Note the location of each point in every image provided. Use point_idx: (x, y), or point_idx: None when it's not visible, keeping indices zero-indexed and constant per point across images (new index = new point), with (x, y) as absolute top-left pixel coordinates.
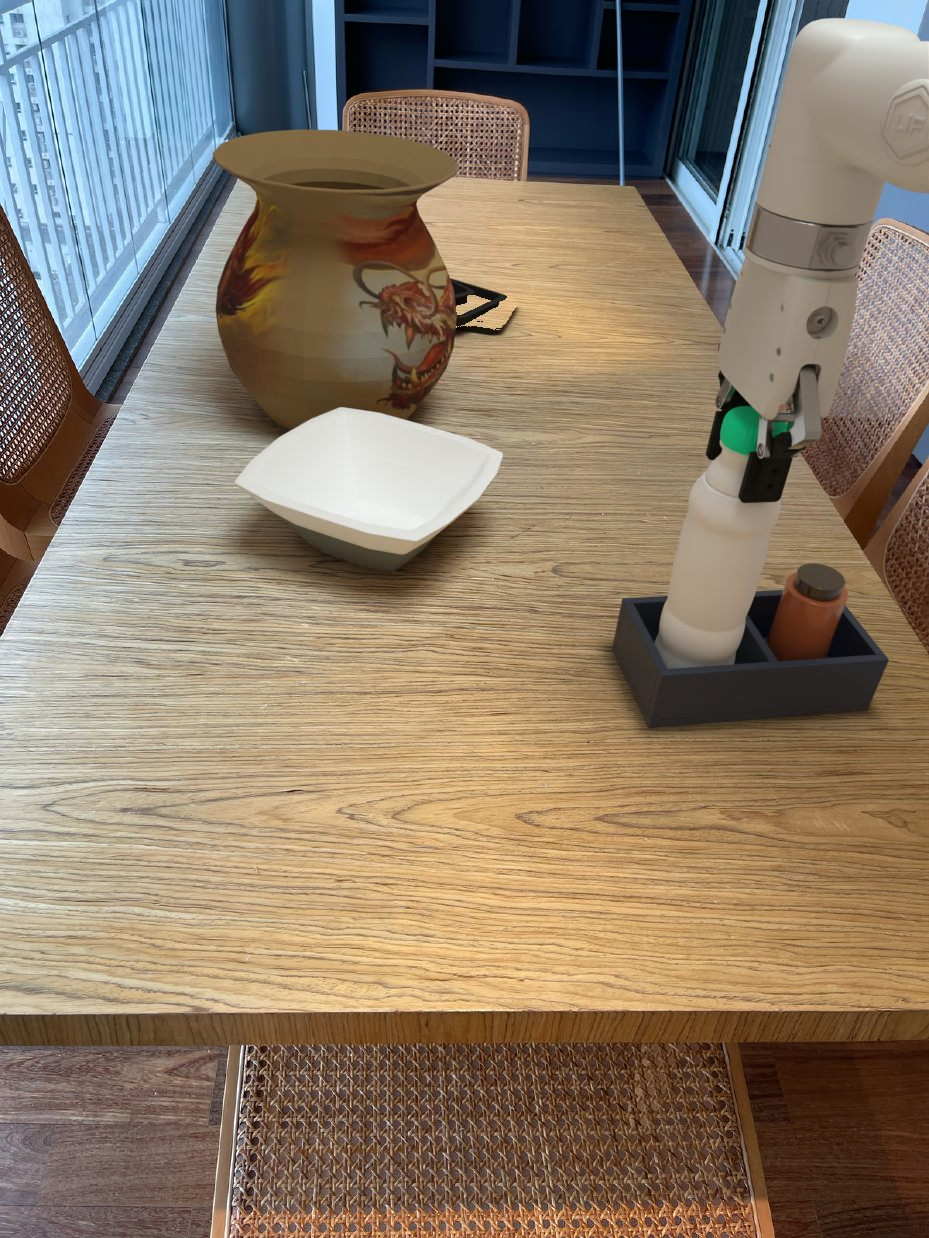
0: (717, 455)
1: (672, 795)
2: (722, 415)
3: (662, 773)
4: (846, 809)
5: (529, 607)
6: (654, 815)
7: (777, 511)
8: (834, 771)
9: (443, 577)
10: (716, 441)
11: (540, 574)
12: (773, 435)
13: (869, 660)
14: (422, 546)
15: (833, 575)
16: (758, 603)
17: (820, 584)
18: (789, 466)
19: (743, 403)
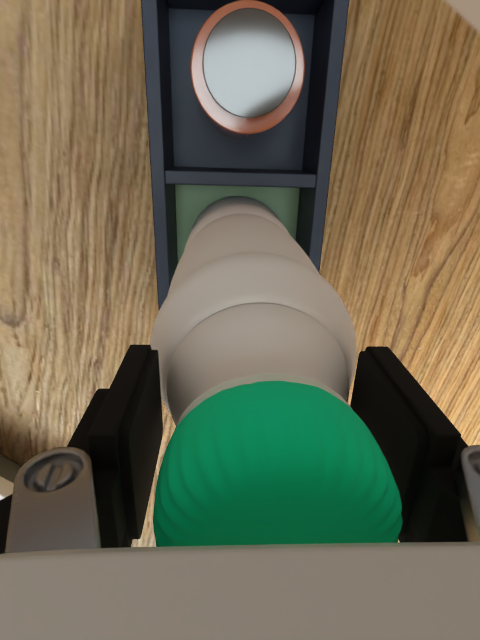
0: (160, 426)
1: (383, 311)
2: (128, 536)
3: (355, 310)
4: (456, 139)
5: (90, 366)
6: (399, 333)
7: (337, 299)
8: (404, 122)
9: (39, 435)
10: (153, 467)
11: (22, 341)
12: (401, 521)
13: (346, 9)
14: (15, 476)
15: (249, 31)
16: (164, 125)
17: (275, 83)
18: (432, 404)
19: (99, 519)
